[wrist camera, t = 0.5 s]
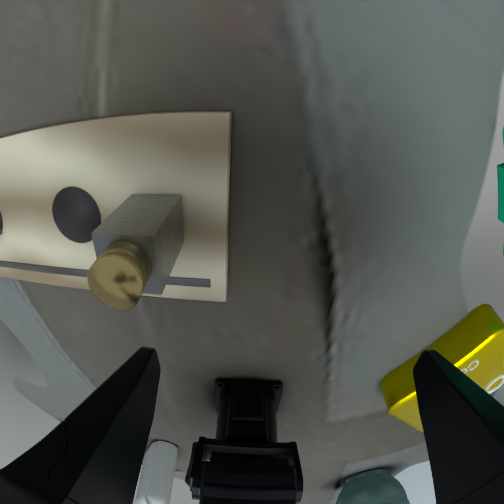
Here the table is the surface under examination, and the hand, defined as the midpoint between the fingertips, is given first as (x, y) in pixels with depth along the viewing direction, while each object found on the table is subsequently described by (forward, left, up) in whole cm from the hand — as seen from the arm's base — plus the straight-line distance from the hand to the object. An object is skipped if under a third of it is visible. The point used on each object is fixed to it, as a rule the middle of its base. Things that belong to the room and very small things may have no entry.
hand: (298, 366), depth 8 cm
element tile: (-17, -23, -12) cm, 31 cm away
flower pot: (-57, -26, -12) cm, 64 cm away
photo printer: (-40, +14, -12) cm, 44 cm away
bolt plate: (0, +16, -12) cm, 20 cm away
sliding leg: (0, +7, -10) cm, 12 cm away
